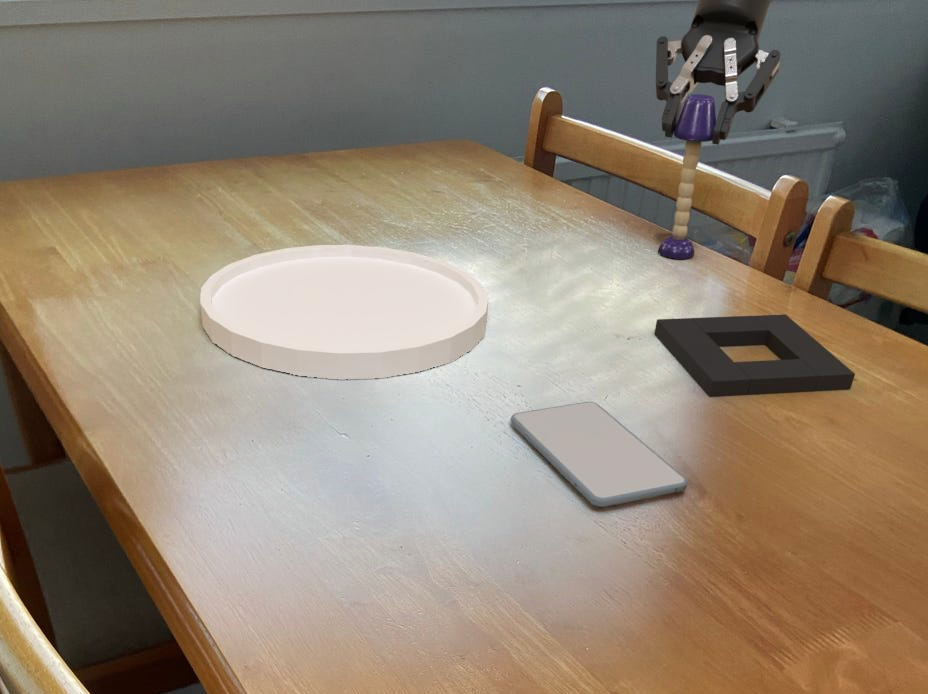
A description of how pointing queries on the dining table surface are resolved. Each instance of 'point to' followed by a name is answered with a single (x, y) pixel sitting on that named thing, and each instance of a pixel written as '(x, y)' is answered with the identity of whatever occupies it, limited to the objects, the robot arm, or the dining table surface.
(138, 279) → the dining table surface
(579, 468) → the smartphone
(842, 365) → the square frame
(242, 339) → the plate
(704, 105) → the toy lamp
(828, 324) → the dining table surface
